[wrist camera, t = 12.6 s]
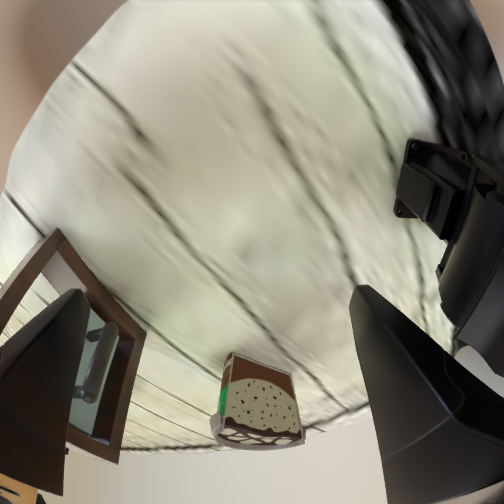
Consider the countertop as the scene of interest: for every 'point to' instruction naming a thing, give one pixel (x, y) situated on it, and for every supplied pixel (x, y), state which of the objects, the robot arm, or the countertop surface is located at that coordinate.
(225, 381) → the food container
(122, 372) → the window frame
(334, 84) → the countertop surface
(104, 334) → the window sash
